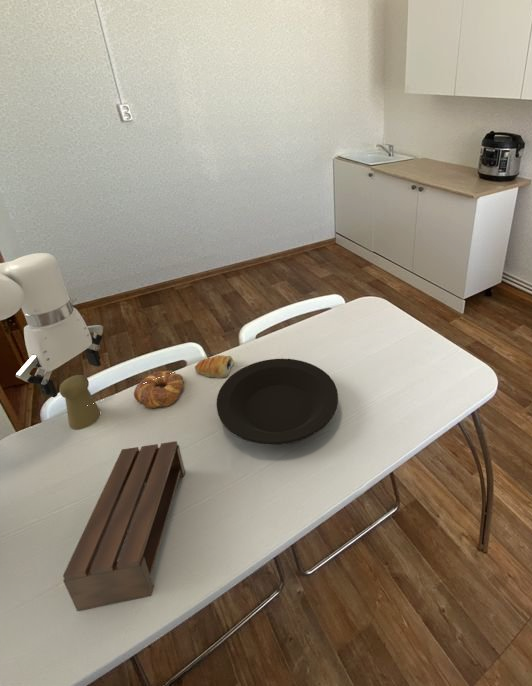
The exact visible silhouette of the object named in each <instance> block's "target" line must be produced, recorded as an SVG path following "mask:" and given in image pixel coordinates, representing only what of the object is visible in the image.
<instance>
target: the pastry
mask: <svg viewBox="0 0 532 686" xmlns="http://www.w3.org/2000/svg"><path fill="white" fill-rule="evenodd" d="M233 366H234V359H233V357H232V356H231V355H223V354H221V355H220V354H218V356H217V355H215V356H213V357H212V356H211V357H207V358H204V359H201V360H199V361H198V362H197V363H196V364H195V366H194V370H195V372H196V373H197V374H199V375H201V376H205V377H206V376H207V377H206V378H214V377H215V378H218V379H222V378H226V377H228V376H229V374H230V371H231V368H232V367H233Z"/></svg>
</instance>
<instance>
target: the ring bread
mask: <svg viewBox="0 0 532 686" xmlns="http://www.w3.org/2000/svg"><path fill="white" fill-rule="evenodd" d="M172 372H174V373H172ZM170 373H171V374H170ZM162 376H164V377H162ZM158 377H160V378H158ZM156 378H157V379H156ZM153 379H154V380H153ZM145 382H147V383H145ZM143 383H145V384H143ZM183 390H184V376H183V375H181V374H180V373H176V371H174V370H164V371H163V370H160V371H155V372H152V373H151V374H149V375H148V376H146V377H145V378H143V379H142V380H140V382H138V384H136V386H135V389H134V391H133V397H134V399H135V401H136V402H138V403H140V404H142V405H143V406H144V407H145V408H148V409H149V408H150V409H155V408H159V407H167V406H170V405H171V404H173V403H175V402H176V401H177V400H178V398H179V397H180V395H181V394H180V393H181V392H182V391H183Z"/></svg>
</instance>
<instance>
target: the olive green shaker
mask: <svg viewBox="0 0 532 686" xmlns="http://www.w3.org/2000/svg"><path fill="white" fill-rule="evenodd" d="M89 385H90V382H89V379H88V378H87V376H85V375H83V374H75V375H72V376H70V377H68V378H66V379H65V380H63V381H62V382H61V383H60V385H59V388H58V389H59V394H60V396H61V398H64V399H65V406H66V412H67V420H68V426H69V429H71V430H82V429H85V428H88V427H89V426H92V425H93V424H94V423H96V422H97V421H98V419H99V418H100V417H101V415H100V411H101V410H100V408H99V406H98V405H97V403H96V401H95V399H94V397H93V395H92V394H91V392H90V390H89ZM93 403H94V404H93ZM87 405H88V406H87ZM99 416H100V417H99ZM87 426H88V427H87ZM84 427H85V428H84ZM81 428H82V429H81Z"/></svg>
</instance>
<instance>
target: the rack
mask: <svg viewBox="0 0 532 686" xmlns="http://www.w3.org/2000/svg"><path fill="white" fill-rule="evenodd" d="M185 473H186V469H185V465H184V461H183V456H182V452H181V448H180V444H178V441H177V440H174V441H168V442H162V443H160V445H159V444H158V443H155V444H148V445H142V446H141V447H140V449H139V447H138V446H136V447H128V448H123V449H121V450H120V453H119V454H118V457H117V459H116V461H115V464H114V466H113V468H112V470H111V472H110V474H109V476H108V478H107V480H106V482H105V485H104V487H103V489H102V491H101V493H100V496H99V497H98V500H97V502H96V504H95V507H94V509H93V511H92V513H91V515H90V517H89V518H88V521H87V523H86V525H85V527H84V530H83V532H82V533H81V536H80V539H79V540H78V542H77V545H76V546H75V549H74V551H73V552H72V555H71V557H70V560H69V561H68V564H67V566H66V568H65V570H64V573H63V575H62V577H63V584H64V585H65V588H66V590H67V592H68V594H69V597H70V598H71V601H72V604H73V605H74V608H75V610H76V611H77V612H80V611H84V610H89V609H93V608H98V607H102V606H103V607H104V606H108V605H112V604H117V603H122V602H125V601H126V602H127V601H132V600H136V599H141V598H147V597H151V596H152V594H153V591H154V587H155V586H154V583H153V579H152V574H153V571H154V568H155V564H156V561H157V557H158V554H159V551H160V547H161V543H162V539H163V536H164V532H165V530H166V526H167V522H168V520H169V519H168V518H169V515H170V511H171V508H172V504H173V500H174V497H175V493H176V490H177V487H178V484H179V480H180V478H184V477H185Z"/></svg>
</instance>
